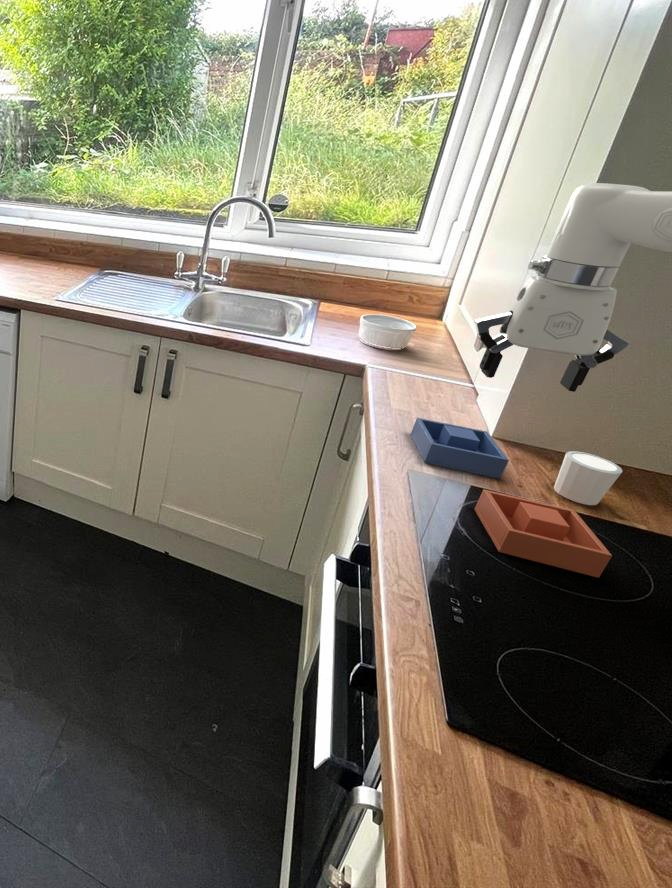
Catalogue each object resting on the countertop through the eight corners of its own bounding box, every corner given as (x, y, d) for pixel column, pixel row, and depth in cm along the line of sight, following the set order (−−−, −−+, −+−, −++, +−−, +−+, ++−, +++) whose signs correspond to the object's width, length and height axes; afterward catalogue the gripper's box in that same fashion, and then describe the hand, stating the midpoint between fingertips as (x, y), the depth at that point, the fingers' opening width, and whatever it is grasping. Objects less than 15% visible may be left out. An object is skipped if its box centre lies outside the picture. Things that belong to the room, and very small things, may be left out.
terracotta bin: (599, 578, 83) (612, 555, 82) (498, 552, 88) (509, 530, 86) (562, 530, 93) (574, 509, 91) (473, 509, 97) (483, 489, 96)
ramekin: (348, 342, 169) (355, 319, 166) (361, 332, 177) (368, 310, 174) (402, 356, 160) (410, 332, 157) (413, 345, 168) (422, 322, 166)
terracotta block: (557, 551, 87) (570, 527, 86) (519, 541, 89) (531, 518, 87) (544, 533, 91) (557, 509, 89) (508, 524, 93) (519, 501, 91)
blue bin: (500, 479, 106) (509, 460, 104) (424, 462, 110) (431, 443, 109) (479, 449, 115) (487, 431, 114) (410, 434, 120) (416, 417, 118)
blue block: (471, 461, 110) (480, 441, 108) (442, 455, 112) (450, 435, 110) (463, 450, 114) (472, 430, 112) (435, 444, 115) (443, 424, 114)
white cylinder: (539, 486, 104) (556, 453, 101) (564, 480, 106) (581, 448, 103) (587, 510, 98) (607, 475, 95) (613, 503, 100) (632, 469, 97)
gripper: (508, 270, 83) (464, 378, 90) (675, 289, 76) (614, 404, 83) (490, 259, 89) (449, 361, 96) (642, 276, 83) (588, 383, 89)
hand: (526, 381), depth 89 cm, fingers open, 9 cm apart
